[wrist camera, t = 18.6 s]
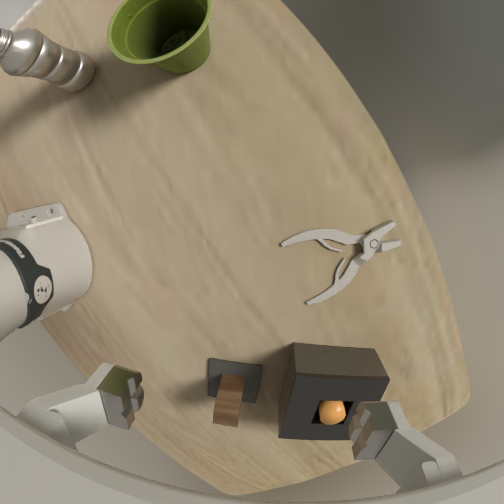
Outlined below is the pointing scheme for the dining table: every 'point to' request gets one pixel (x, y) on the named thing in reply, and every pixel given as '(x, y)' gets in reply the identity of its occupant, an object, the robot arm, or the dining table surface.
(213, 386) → the pad
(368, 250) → the pliers
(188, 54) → the plant pot
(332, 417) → the egg
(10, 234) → the robot arm
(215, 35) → the dining table surface
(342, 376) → the box
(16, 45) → the silver metal bottle
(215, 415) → the wood grain block
